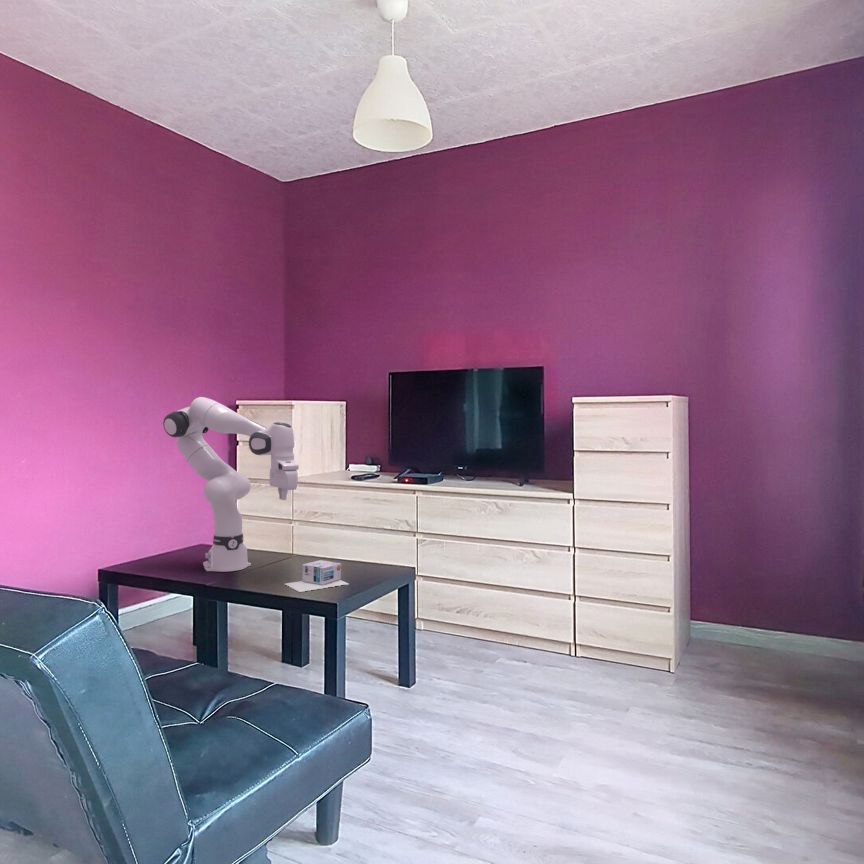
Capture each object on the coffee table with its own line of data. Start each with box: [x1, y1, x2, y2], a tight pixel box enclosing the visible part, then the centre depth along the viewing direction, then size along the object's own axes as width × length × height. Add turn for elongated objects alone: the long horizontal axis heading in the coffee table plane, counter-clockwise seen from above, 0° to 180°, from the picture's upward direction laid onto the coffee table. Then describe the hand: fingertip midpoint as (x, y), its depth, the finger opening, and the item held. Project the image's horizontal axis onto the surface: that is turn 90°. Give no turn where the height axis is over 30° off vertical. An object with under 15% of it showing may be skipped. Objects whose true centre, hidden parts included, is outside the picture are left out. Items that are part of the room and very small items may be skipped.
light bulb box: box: [301, 559, 342, 585], centre depth 255 cm, size 11×7×11 cm
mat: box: [284, 579, 350, 594], centre depth 250 cm, size 14×20×1 cm
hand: (282, 499), depth 259 cm, fingers closed
